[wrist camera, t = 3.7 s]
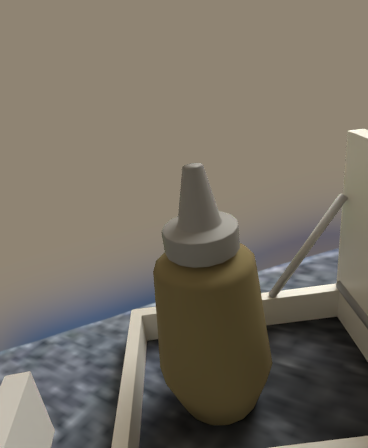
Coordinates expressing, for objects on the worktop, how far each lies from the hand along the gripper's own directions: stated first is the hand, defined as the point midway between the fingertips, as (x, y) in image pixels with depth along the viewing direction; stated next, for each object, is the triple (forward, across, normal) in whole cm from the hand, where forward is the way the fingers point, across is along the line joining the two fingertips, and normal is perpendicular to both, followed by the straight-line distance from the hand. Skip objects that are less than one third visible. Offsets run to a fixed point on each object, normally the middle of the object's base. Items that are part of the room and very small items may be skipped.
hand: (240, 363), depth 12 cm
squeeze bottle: (+11, +1, -14) cm, 18 cm away
